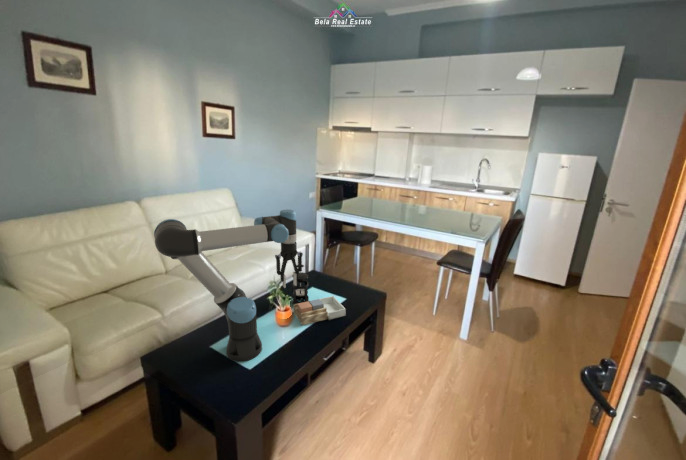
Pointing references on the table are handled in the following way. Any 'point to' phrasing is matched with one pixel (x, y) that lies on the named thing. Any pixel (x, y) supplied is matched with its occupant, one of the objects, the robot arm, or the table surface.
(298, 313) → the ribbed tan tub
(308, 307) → the terracotta tile
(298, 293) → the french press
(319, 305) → the slate tile
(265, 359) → the table surface
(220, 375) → the table surface
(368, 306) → the table surface
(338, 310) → the tray
